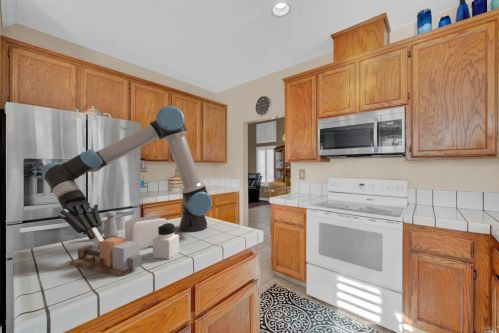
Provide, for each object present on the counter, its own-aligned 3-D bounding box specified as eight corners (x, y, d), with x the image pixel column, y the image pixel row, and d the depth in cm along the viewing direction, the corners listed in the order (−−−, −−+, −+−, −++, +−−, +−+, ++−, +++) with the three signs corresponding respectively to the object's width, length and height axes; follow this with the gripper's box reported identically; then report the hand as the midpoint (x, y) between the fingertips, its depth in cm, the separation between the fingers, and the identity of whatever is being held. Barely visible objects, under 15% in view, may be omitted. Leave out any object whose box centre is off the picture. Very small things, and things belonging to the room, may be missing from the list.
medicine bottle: (179, 252, 86) (179, 222, 86) (169, 259, 79) (168, 227, 79) (164, 250, 87) (163, 221, 87) (152, 257, 80) (152, 226, 80)
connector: (112, 268, 70) (112, 246, 70) (128, 260, 76) (128, 240, 76) (129, 271, 67) (129, 249, 67) (144, 263, 73) (144, 243, 73)
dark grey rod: (81, 254, 78) (81, 249, 78) (86, 252, 80) (86, 247, 80) (118, 262, 72) (118, 256, 72) (123, 259, 74) (123, 254, 74)
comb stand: (70, 264, 75) (70, 251, 75) (96, 254, 83) (96, 243, 83) (119, 276, 67) (119, 262, 67) (142, 264, 75) (142, 251, 75)
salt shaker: (100, 239, 101) (100, 212, 101) (112, 235, 106) (112, 210, 106) (109, 241, 99) (109, 213, 99) (120, 237, 104) (120, 210, 104)
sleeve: (99, 264, 72) (99, 241, 72) (116, 257, 78) (115, 236, 78) (110, 266, 70) (109, 243, 70) (126, 259, 76) (126, 237, 76)
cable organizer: (130, 252, 85) (130, 224, 85) (124, 245, 93) (124, 219, 93) (167, 243, 95) (167, 218, 95) (160, 237, 103) (159, 214, 103)
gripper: (83, 199, 89) (112, 244, 83) (44, 205, 76) (75, 258, 71) (92, 187, 87) (122, 232, 81) (54, 190, 75) (86, 244, 69)
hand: (100, 244), depth 76 cm, fingers closed
